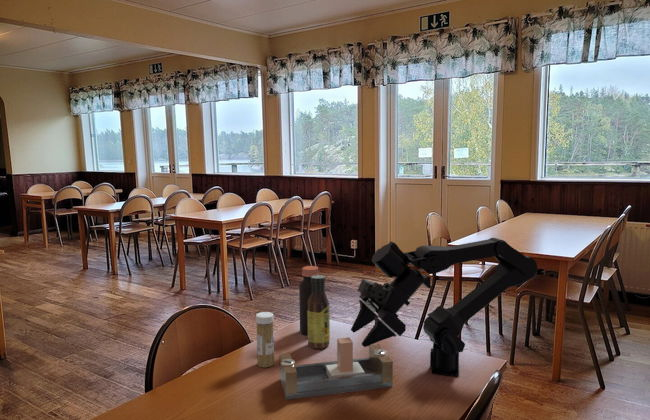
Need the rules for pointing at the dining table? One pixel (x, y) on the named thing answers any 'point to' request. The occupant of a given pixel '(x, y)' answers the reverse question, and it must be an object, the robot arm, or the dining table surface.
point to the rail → (317, 383)
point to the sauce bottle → (318, 314)
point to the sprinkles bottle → (265, 339)
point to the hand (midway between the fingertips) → (357, 338)
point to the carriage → (344, 361)
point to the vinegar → (305, 295)
